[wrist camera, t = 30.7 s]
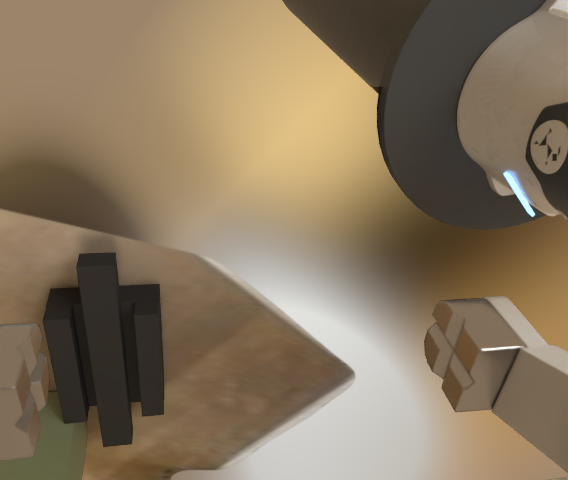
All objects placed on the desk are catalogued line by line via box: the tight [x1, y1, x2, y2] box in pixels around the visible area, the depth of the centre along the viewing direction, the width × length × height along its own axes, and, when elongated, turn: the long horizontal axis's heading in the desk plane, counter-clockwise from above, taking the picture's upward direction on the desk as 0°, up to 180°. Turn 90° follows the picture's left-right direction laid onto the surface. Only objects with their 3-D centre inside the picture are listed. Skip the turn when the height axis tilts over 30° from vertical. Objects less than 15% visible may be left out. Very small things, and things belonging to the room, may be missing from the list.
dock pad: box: [43, 284, 164, 424], centre depth 52 cm, size 10×14×4 cm
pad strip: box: [76, 253, 133, 447], centre depth 51 cm, size 3×24×2 cm, turn 175°
